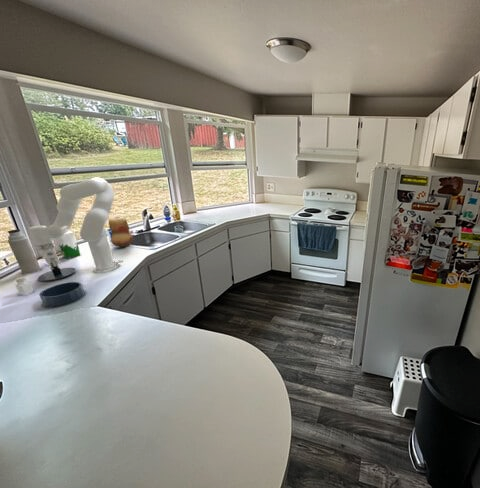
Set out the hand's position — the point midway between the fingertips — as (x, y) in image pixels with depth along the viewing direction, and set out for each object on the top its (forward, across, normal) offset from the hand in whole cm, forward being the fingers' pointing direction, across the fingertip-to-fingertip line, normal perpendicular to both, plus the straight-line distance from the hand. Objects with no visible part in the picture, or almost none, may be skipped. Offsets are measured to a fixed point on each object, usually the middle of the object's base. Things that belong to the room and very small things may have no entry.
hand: (57, 273), depth 155 cm
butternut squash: (+3, +29, -43) cm, 52 cm away
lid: (+1, 0, 0) cm, 1 cm away
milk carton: (+2, +35, -13) cm, 38 cm away
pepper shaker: (+2, -14, +15) cm, 20 cm away
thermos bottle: (+2, +21, +9) cm, 23 cm away
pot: (+2, -37, +4) cm, 37 cm away
